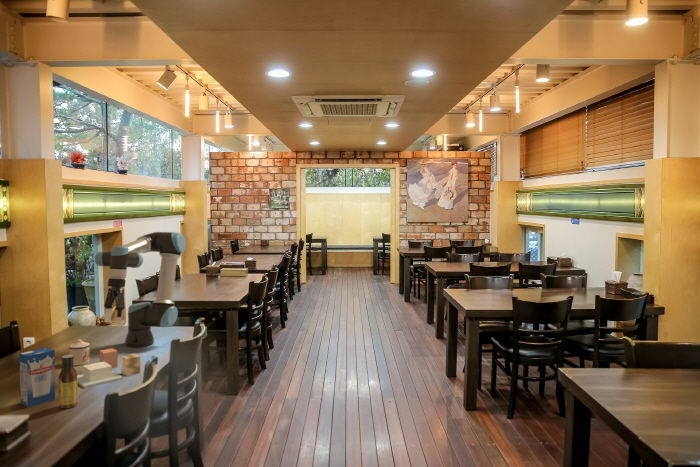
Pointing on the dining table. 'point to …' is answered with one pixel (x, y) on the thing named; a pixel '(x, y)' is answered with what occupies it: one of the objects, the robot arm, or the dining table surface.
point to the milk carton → (37, 377)
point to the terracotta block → (109, 357)
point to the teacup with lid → (79, 352)
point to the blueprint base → (89, 384)
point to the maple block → (130, 364)
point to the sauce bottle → (68, 383)
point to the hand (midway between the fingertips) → (112, 323)
